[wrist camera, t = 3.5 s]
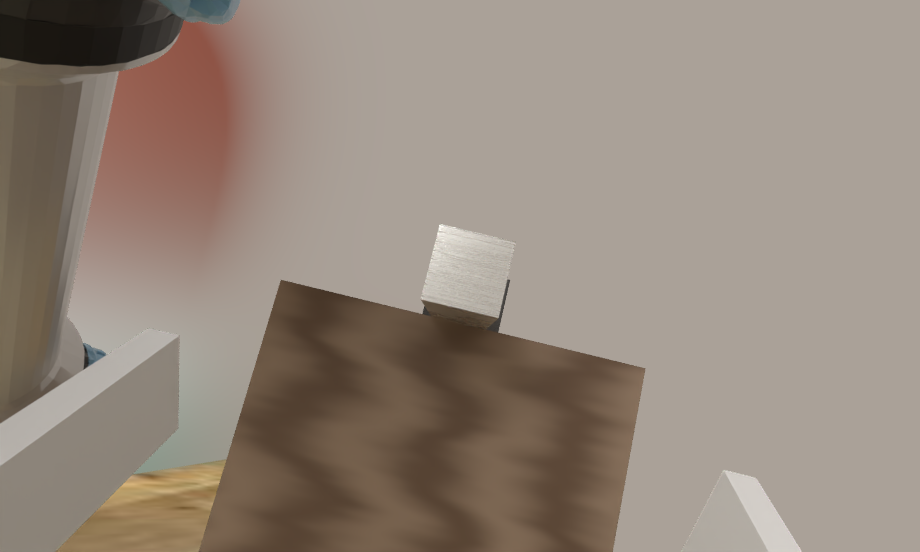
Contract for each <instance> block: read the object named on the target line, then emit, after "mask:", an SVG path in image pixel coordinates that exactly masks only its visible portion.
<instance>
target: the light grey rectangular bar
mask: <svg viewBox="0 0 920 552" xmlns="http://www.w3.org/2000/svg"><path fill="white" fill-rule="evenodd" d="M515 244H516V242H513V241H509V240H504V239H500V238H496V237H492V236H488V235H484V234H479V233H475V232H471V231H467V230H462V229H458V228H454V227H450V226H446V225H441V224H440V226H439V230H438V234H437V238H436V242H435V246H434V250H433V254H432V257H431V262H430V266H429V269H428V273H427V277H426V281H425V285H424V289H423V293H422V297H421V301H422V302H423V304H424V305H425V306H424V310H423V315H428V316H432V317H436V318H440V319H444V320H448V321H452V322H456V323H460V324H465V325H469V326H473V327H477V328H481V329H485V330H489V331H493V332H497V333H498V331H499V326H500V322H501V317H502V313H503V309H504V304H505V300H506V295H507V291H508V287H509V282H510V280H508V279H507V278H508V274H509V270H510V266H511V261H512V257H513V252H514V248H515Z"/></svg>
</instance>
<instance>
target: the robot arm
mask: <svg viewBox="0 0 920 552" xmlns="http://www.w3.org/2000/svg"><path fill="white" fill-rule="evenodd" d="M239 3H240V0H0V552H56V551H57V550H58V549H59V548H60V547H61V546H62V545H63V544H64V543H65V542H66V541H67V540H68V539H69V538H70V537H71V536H72V535H73V534H74V533H75V532H76V530H77V529H78V528H79V527H80V526H81V525H82V524H83V523H84V522H85V521H86V520H87V519H88V518H89V517H90V516H91V515H92V514H93V513H94V512H95V511H96V510H97V509H98V508H99V507H100V506H101V505H102V504H103V503H104V502H105V501H106V500H107V499H108V498H109V497H110V496H111V495H112V494H113V493H114V492H115V491H116V490H117V489H118V488H119V487H120V486H121V485H122V484H123V483H124V482H125V481H126V480H127V479H128V478H129V477H130V476H131V475H132V474H133V473H134V472H135V471H136V470H137V469H138V468H139V467H140V466H141V465H142V464H143V463H144V462H145V461H146V460H147V459H148V458H149V457H150V456H151V455H152V454H153V453H154V452H155V451H156V450H157V449H158V448H159V447H160V446H161V445H162V444H163V443H164V442H165V441H166V440H167V439H168V438H169V437H170V436H171V435H172V434H173V433H174V432H175V431H176V430H177V429H178V410H179V408H178V407H179V335H175V334H171V333H167V332H163V331H159V330H155V329H151V328H148V329H146V330H145V331H143V332H141V333H140V334H138V335H137V336H135V337H134V338H132V339H130V340H129V341H127V342H126V343H124V344H123V345H121V346H120V347H118V348H117V349H115V350H113V351H112V352H110V353H109V354H107V355H106V353H104V352H103V351H102V350H99V349H96V348H92V347H91V346H90V345H88V344H86V343H83V342H82V339H81V337H80V335H79V333H78V331H77V329H76V328H75V326H74V325H73V323H72V322H71V321H70V320H69V319H68V318H67V312H68V308H69V303H70V298H71V293H72V289H73V284H74V279H75V275H76V269H77V265H78V261H79V256H80V251H81V247H82V242H83V237H84V233H85V228H86V223H87V218H88V213H89V209H90V204H91V200H92V195H93V190H94V186H95V181H96V176H97V171H98V167H99V162H100V157H101V153H102V147H103V143H104V138H105V134H106V129H107V125H108V119H109V115H110V110H111V106H112V101H113V96H114V92H115V87H116V82H117V78H118V73H119V71H123V70H127V69H130V68H134V67H138V66H142V65H144V64H146V63H149V62H151V61H153V60H156V59H158V58H159V57H160V56H161V55H163V54H165V53H166V52H167V51H169V49H170V48H171V47H172V46H173V44H174V43H175V42H176V40H177V38H178V36H179V33H180V30H181V27H182V24H183V21H184V20H185V21H188V22H198V21H202V22H207V23H209V24H224V23H226V22H228V21H229V20H231V19H232V18H233V16H234V14H235V12H236V10H237V8H238V6H239ZM681 552H802V551H801V549H800V548H799V546H798V545H797V543H796V541H795V540H794V538H793V537H792V535H791V533H790V532H789V530H788V529H787V527H786V525H785V524H784V522H783V521H782V519H781V517H780V516H779V514H778V512H777V511H776V509H775V508H774V506H773V504H772V503H771V501H770V500H769V498H768V496H767V495H766V493H765V492H764V490H763V488H762V487H761V485H760V484H759V482H758V480H757V479H756V478H754V477H750V476H746V475H742V474H738V473H734V472H730V471H726V470H723V472H722V474H721V476H720V477H719V479H718V481H717V483H716V485H715V487H714V489H713V491H712V493H711V495H710V497H709V499H708V501H707V502H706V504H705V506H704V508H703V510H702V512H701V514H700V516H699V518H698V520H697V522H696V524H695V526H694V528H693V529H692V531H691V533H690V535H689V537H688V539H687V541H686V543H685V545H684V547H683V549H682V551H681Z"/></svg>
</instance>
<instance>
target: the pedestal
mask: <svg viewBox="0 0 920 552" xmlns="http://www.w3.org/2000/svg"><path fill="white" fill-rule="evenodd" d="M644 373H645V368H641V367H637V366H633V365H629V364H625V363H621V362H617V361H612V360H609V359H604V358H600V357H596V356H592V355H587V354H584V353H580V352H575V351H571V350H567V349H563V348H559V347H555V346H551V345H547V344H543V343H539V342H534V341H530V340H526V339H522V338H518V337H514V336H510V335H506V334H502V333H497V332H493V331H489V330H485V329H481V328H477V327H473V326H469V325H465V324H460V323H456V322H452V321H448V320H444V319H440V318H436V317H432V316H428V315H423V314H419V313H415V312H411V311H407V310H403V309H399V308H395V307H390V306H386V305H382V304H378V303H374V302H370V301H365V300H362V299H358V298H353V297H349V296H345V295H341V294H337V293H333V292H329V291H325V290H321V289H316V288H312V287H308V286H304V285H300V284H296V283H292V282H288V281H283V280H281V281H280V285H279V288H278V291H277V295H276V298H275V301H274V305H273V308H272V311H271V315H270V318H269V321H268V325H267V328H266V331H265V334H264V338H263V341H262V344H261V348H260V351H259V354H258V358H257V361H256V365H255V368H254V371H253V374H252V377H251V381H250V384H249V387H248V391H247V394H246V397H245V401H244V404H243V408H242V411H241V414H240V417H239V420H238V424H237V427H236V430H235V434H234V437H233V440H232V444H231V447H230V450H229V454H228V457H227V460H226V463H225V467H224V470H223V473H222V477H221V480H220V483H219V487H218V490H217V493H216V497H215V500H214V503H213V506H212V510H211V513H210V516H209V520H208V523H207V526H206V530H205V533H204V536H203V540H202V543H201V546H200V550H199V552H613V546H614V541H615V535H616V530H617V524H618V519H619V513H620V507H621V502H622V496H623V491H624V485H625V479H626V474H627V468H628V463H629V457H630V452H631V446H632V440H633V435H634V428H635V423H636V417H637V412H638V407H639V401H640V396H641V390H642V384H643V379H644Z"/></svg>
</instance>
